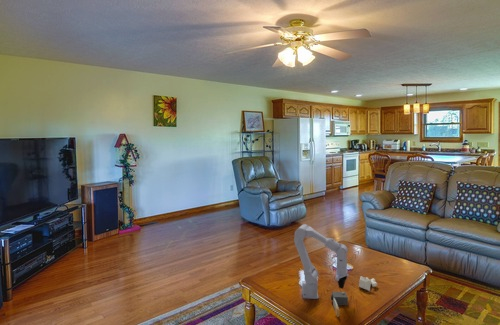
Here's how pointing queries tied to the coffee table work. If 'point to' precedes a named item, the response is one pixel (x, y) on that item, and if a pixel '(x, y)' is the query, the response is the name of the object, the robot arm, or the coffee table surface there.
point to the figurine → (366, 283)
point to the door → (336, 307)
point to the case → (340, 298)
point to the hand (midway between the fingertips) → (341, 287)
